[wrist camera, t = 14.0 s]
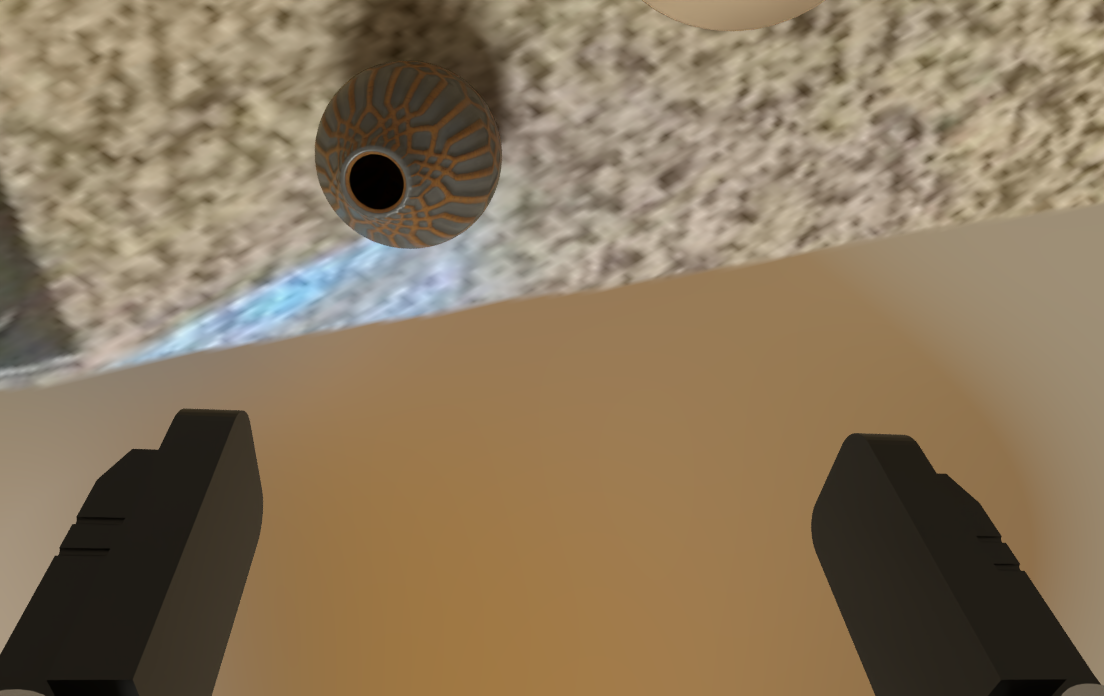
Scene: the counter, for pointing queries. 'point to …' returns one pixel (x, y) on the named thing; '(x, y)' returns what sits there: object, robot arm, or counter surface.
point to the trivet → (732, 12)
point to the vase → (408, 154)
